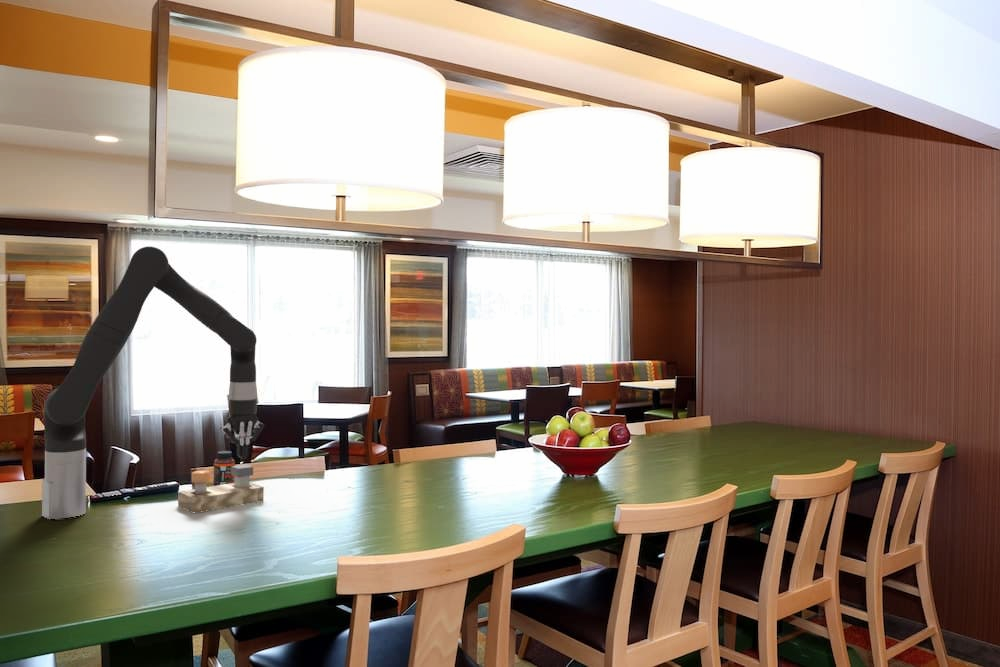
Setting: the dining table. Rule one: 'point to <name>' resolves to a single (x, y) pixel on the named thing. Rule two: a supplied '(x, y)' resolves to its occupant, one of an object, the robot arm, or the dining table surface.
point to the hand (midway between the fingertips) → (242, 457)
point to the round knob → (200, 481)
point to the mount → (220, 497)
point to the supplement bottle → (223, 468)
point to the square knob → (241, 475)
